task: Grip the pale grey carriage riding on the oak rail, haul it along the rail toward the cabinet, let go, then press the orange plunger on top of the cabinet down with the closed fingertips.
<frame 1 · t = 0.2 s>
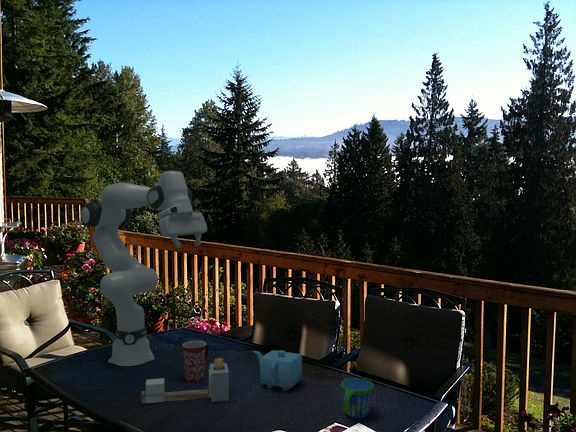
hand: (188, 246, 196), 52 cm above the table, tool tilted 20°, fingers open, 8 cm apart
rail: (176, 398, 184), on the table
mug: (197, 377, 205), on the table
carriage: (155, 390, 182), point 4 cm above the table, slide at 0.0 cm
plunger: (219, 366, 186), point 11 cm above the table, slide at 0.0 cm
teapot: (274, 384, 198), on the table
snack cup: (356, 414, 172), on the table
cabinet: (219, 395, 187), on the table
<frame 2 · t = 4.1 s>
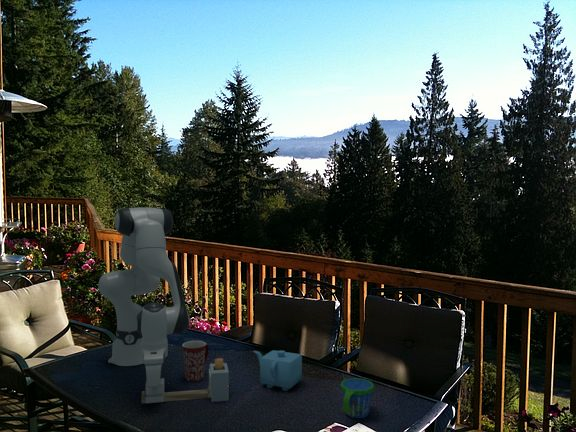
hand: (155, 390, 182), 4 cm above the table, tool pointing down, fingers closed on carriage, 5 cm apart
carriage: (155, 390, 182), point 4 cm above the table, slide at 0.0 cm, touching gripper
everything else where it was.
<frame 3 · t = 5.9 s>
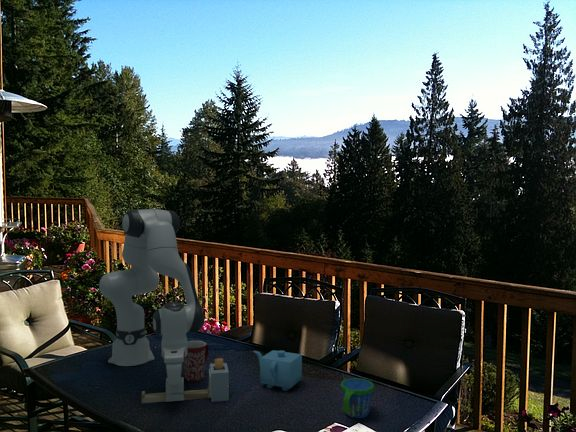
hand: (175, 388, 184), 4 cm above the table, tool pointing down, fingers closed on carriage, 5 cm apart
carriage: (174, 389, 184), point 4 cm above the table, slide at 6.7 cm, touching gripper
everything else where it was.
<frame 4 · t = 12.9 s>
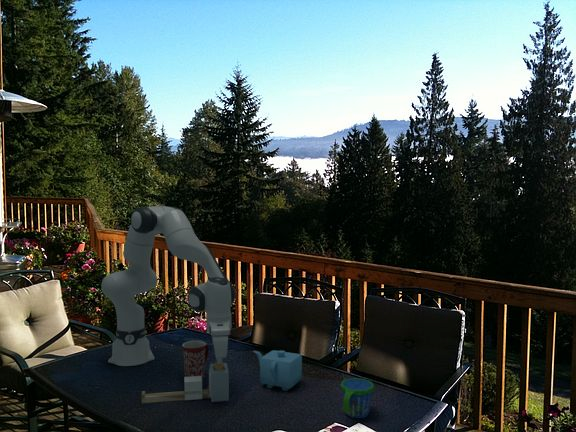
hand: (219, 362, 186), 12 cm above the table, tool pointing down, fingers closed, pressing on plunger
carriage: (193, 387, 185), point 4 cm above the table, slide at 13.0 cm
plunger: (219, 369, 186), point 9 cm above the table, slide at 1.1 cm, touching gripper
everything else where it was.
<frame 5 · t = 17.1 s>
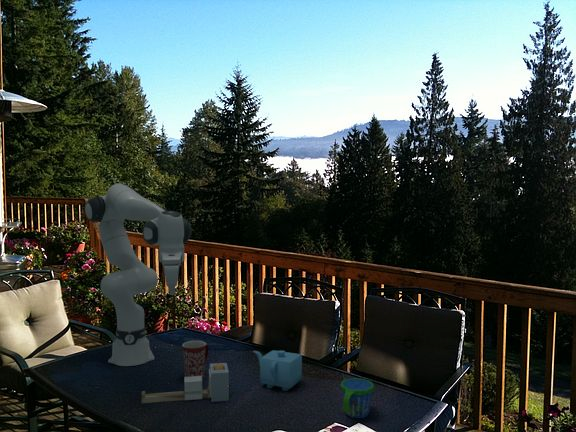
hand: (172, 294, 190), 35 cm above the table, tool pointing down, fingers closed
plunger: (219, 372, 186), point 9 cm above the table, slide at 2.0 cm
everything else where it was.
at the end: carriage slide at 13.0 cm; plunger slide at 2.0 cm; the gripper is holding nothing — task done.
